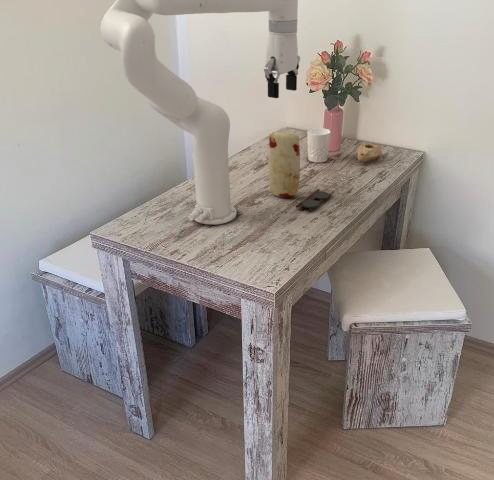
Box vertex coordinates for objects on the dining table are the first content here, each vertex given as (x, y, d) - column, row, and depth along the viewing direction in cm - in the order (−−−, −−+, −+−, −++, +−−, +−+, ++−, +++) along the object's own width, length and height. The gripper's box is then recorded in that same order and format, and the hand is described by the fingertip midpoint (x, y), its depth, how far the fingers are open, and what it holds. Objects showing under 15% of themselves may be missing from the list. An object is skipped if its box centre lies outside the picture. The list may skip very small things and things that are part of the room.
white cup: (327, 164, 198) (328, 135, 193) (305, 162, 200) (305, 134, 194) (330, 156, 205) (331, 128, 200) (308, 154, 206) (309, 127, 201)
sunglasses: (312, 213, 165) (312, 209, 164) (295, 209, 167) (295, 205, 167) (333, 196, 175) (333, 192, 174) (317, 192, 178) (317, 188, 177)
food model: (265, 197, 175) (264, 132, 164) (273, 189, 180) (273, 126, 169) (295, 202, 172) (296, 136, 161) (303, 194, 177) (304, 129, 166)
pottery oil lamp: (348, 164, 197) (346, 143, 197) (364, 165, 207) (362, 145, 206) (371, 159, 192) (369, 138, 191) (386, 161, 202) (384, 141, 201)
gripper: (287, 21, 159) (286, 85, 168) (252, 30, 147) (254, 98, 156) (311, 23, 156) (309, 88, 165) (278, 32, 143) (277, 102, 152)
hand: (282, 93), depth 160 cm, fingers open, 9 cm apart
